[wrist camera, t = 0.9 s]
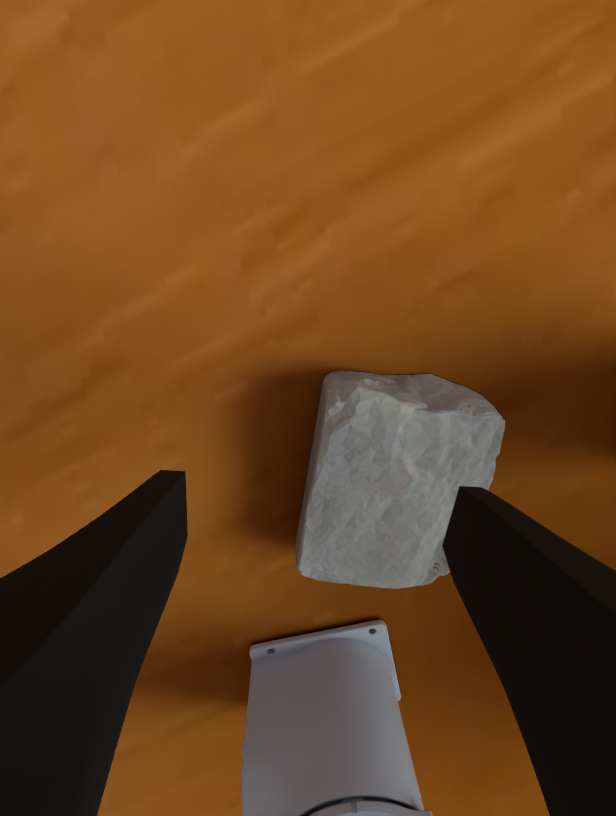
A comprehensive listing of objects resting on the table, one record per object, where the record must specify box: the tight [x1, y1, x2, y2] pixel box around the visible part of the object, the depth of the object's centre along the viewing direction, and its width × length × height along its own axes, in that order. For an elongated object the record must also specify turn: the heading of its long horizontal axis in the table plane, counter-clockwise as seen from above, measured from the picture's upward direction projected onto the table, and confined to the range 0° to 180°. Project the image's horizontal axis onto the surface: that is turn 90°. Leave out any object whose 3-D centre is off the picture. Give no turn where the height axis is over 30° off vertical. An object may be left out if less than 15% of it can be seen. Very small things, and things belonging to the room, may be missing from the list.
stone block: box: [295, 370, 505, 589], centre depth 21 cm, size 12×5×10 cm
